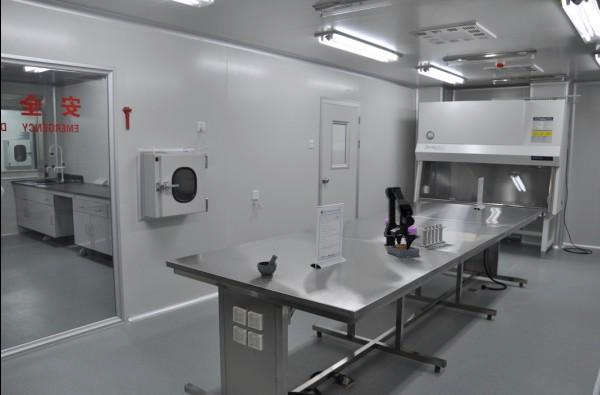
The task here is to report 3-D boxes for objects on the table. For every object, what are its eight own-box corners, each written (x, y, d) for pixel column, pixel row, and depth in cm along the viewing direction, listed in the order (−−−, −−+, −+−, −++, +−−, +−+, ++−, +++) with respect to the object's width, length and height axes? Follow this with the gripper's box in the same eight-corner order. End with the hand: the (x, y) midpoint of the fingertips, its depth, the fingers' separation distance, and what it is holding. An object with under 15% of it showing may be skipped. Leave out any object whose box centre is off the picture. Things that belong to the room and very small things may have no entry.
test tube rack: (424, 247, 310) (425, 227, 308) (419, 246, 313) (420, 226, 311) (445, 242, 326) (446, 223, 324) (439, 241, 329) (440, 222, 328)
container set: (419, 235, 352) (420, 217, 350) (412, 238, 339) (413, 220, 338) (388, 231, 366) (389, 215, 364) (380, 234, 353) (381, 217, 352)
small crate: (395, 252, 290) (395, 244, 290) (404, 251, 293) (404, 243, 292) (401, 254, 284) (401, 246, 284) (410, 253, 287) (410, 245, 286)
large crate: (387, 252, 293) (387, 246, 292) (405, 250, 298) (405, 244, 297) (400, 257, 280) (400, 250, 279) (419, 255, 285) (419, 249, 285)
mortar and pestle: (253, 277, 235) (253, 254, 233) (265, 273, 242) (265, 250, 241) (270, 281, 228) (270, 257, 227) (282, 276, 236) (282, 253, 235)
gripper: (384, 221, 292) (383, 246, 294) (401, 226, 275) (400, 252, 277) (399, 220, 296) (398, 244, 298) (417, 225, 279) (416, 250, 281)
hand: (403, 248), depth 288 cm, fingers open, 9 cm apart
